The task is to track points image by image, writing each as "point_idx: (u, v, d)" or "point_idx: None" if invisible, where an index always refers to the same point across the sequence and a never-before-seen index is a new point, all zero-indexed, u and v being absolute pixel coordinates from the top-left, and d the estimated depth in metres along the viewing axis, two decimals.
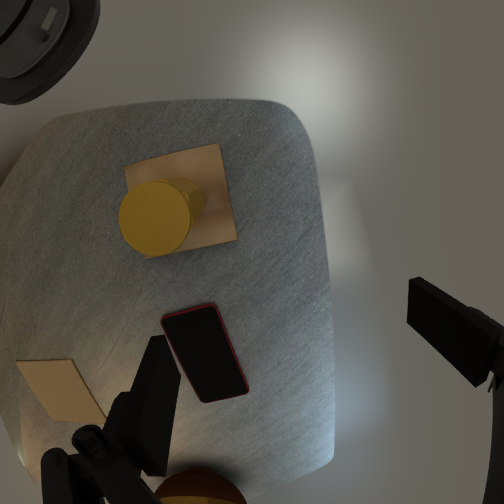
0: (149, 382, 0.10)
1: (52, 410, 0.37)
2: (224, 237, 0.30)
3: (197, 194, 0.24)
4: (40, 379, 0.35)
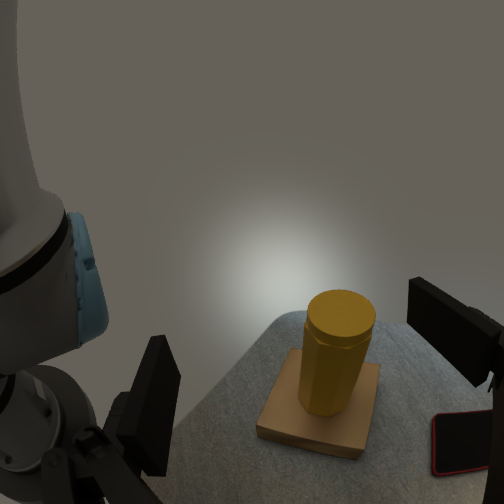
0: (149, 382, 0.10)
1: None
2: (373, 373, 0.26)
3: None
4: None
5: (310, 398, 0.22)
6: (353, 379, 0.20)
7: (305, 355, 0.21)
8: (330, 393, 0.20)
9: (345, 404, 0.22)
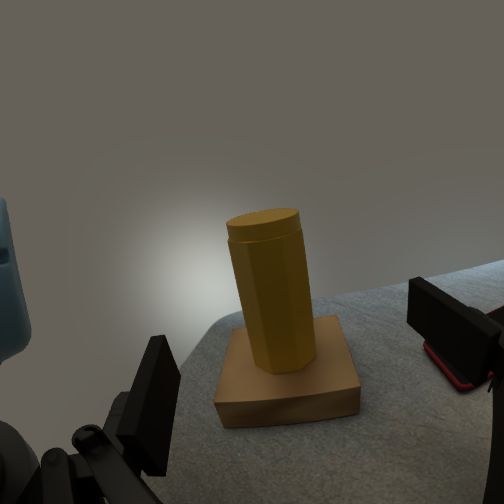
0: (149, 382, 0.10)
1: None
2: (332, 322, 0.25)
3: None
4: None
5: (266, 345, 0.19)
6: (306, 299, 0.19)
7: (240, 282, 0.19)
8: (286, 323, 0.19)
9: (312, 348, 0.20)
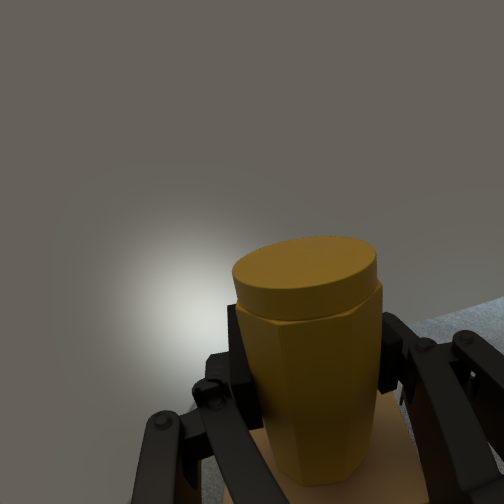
0: None
1: None
2: None
3: None
4: None
5: (300, 462, 0.10)
6: (371, 397, 0.10)
7: (260, 380, 0.10)
8: (337, 439, 0.09)
9: (365, 450, 0.11)
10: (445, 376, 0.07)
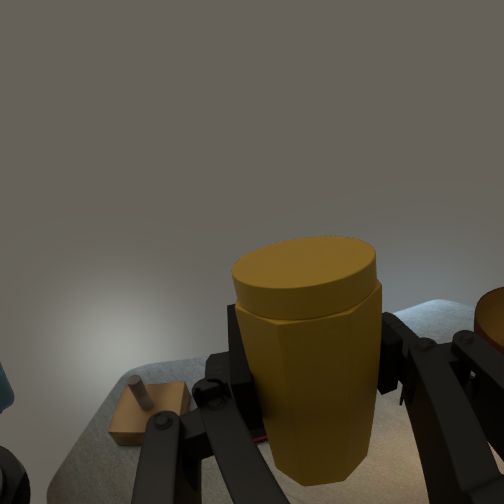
0: None
1: None
2: (179, 386, 0.37)
3: None
4: None
5: (299, 461, 0.10)
6: (371, 397, 0.10)
7: (260, 379, 0.10)
8: (337, 439, 0.09)
9: (365, 450, 0.11)
10: (445, 376, 0.07)
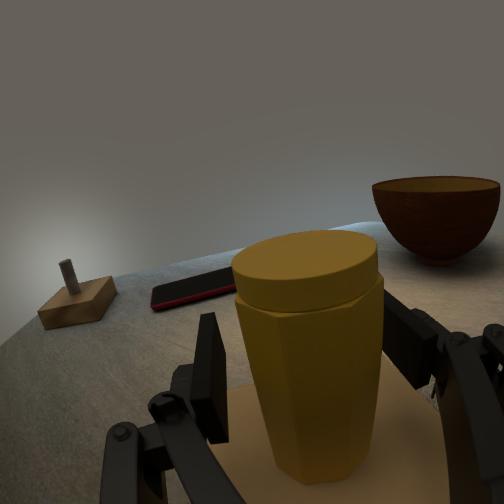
0: (212, 351, 0.11)
1: (431, 474, 0.08)
2: (106, 278, 0.41)
3: None
4: (271, 503, 0.10)
5: (300, 459, 0.10)
6: (373, 393, 0.09)
7: (260, 375, 0.09)
8: (338, 436, 0.09)
9: (366, 447, 0.11)
10: (476, 369, 0.07)
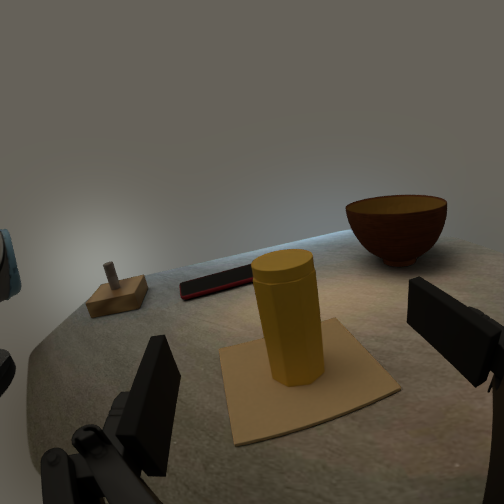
0: (149, 382, 0.10)
1: (360, 384, 0.22)
2: (140, 277, 0.55)
3: None
4: (269, 396, 0.23)
5: (284, 364, 0.23)
6: (317, 326, 0.23)
7: (263, 314, 0.23)
8: (301, 347, 0.22)
9: (321, 365, 0.24)
10: None
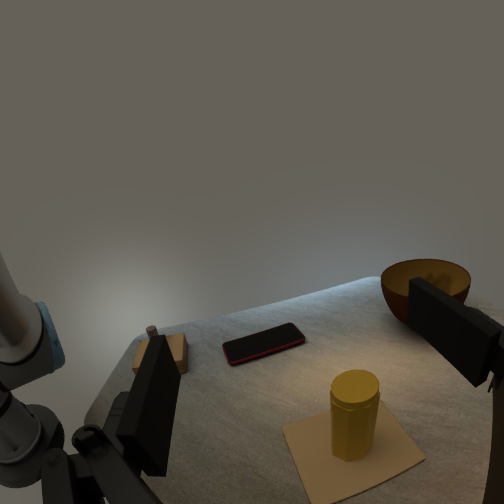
0: (149, 382, 0.10)
1: (398, 456, 0.24)
2: (180, 336, 0.57)
3: None
4: (333, 470, 0.25)
5: (346, 450, 0.25)
6: (373, 425, 0.25)
7: (336, 422, 0.25)
8: (361, 440, 0.24)
9: (370, 444, 0.26)
10: None
